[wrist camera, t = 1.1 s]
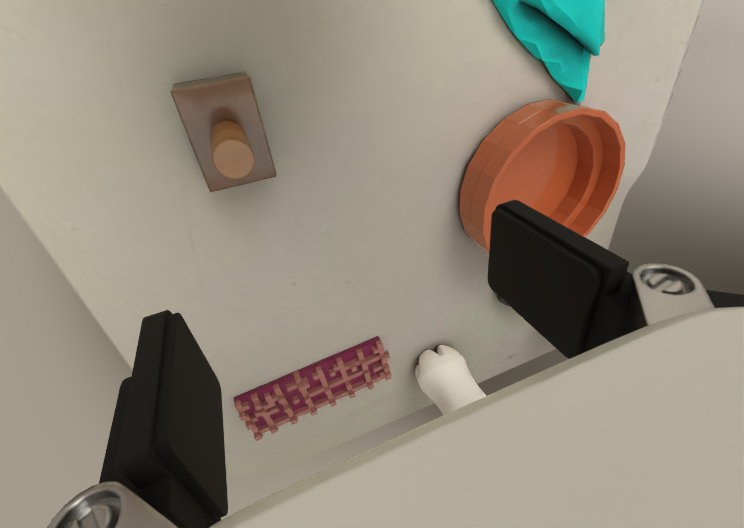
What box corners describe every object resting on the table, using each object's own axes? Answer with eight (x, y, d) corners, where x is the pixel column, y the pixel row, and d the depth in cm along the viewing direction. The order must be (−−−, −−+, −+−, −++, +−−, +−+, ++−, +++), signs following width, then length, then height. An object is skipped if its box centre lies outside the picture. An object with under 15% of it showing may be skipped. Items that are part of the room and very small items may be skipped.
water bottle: (455, 332, 53) (605, 520, 33) (453, 366, 57) (586, 550, 37) (408, 350, 51) (538, 558, 31) (410, 383, 55) (526, 585, 36)
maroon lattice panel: (391, 369, 52) (397, 380, 50) (256, 429, 48) (258, 443, 47) (382, 334, 47) (389, 344, 46) (234, 397, 44) (235, 411, 42)
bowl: (458, 118, 36) (490, 131, 32) (602, 84, 40) (646, 92, 36) (455, 264, 46) (479, 288, 42) (570, 226, 50) (601, 244, 46)
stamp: (173, 84, 26) (164, 106, 20) (245, 71, 28) (259, 88, 21) (209, 178, 30) (212, 221, 24) (270, 163, 32) (289, 201, 25)
